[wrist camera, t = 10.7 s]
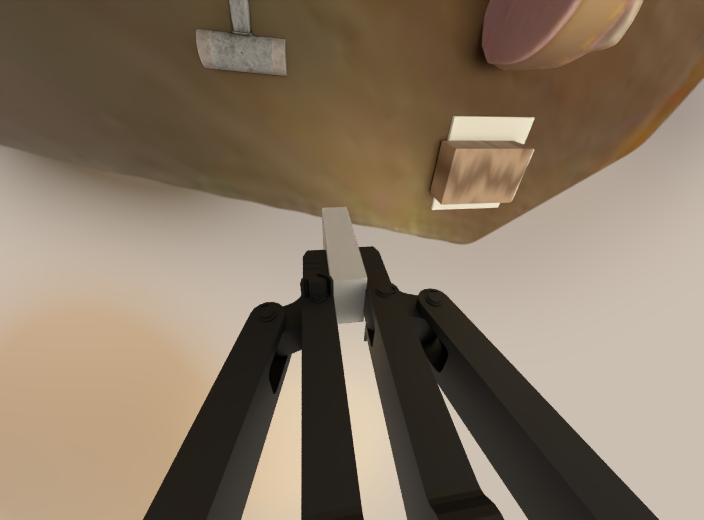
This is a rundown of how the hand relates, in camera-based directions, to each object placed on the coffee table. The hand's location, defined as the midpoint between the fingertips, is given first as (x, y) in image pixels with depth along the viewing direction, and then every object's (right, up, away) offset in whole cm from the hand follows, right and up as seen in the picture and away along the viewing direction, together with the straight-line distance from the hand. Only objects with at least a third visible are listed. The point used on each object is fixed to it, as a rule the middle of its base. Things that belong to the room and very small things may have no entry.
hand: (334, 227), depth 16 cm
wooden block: (+16, +12, +27) cm, 34 cm away
